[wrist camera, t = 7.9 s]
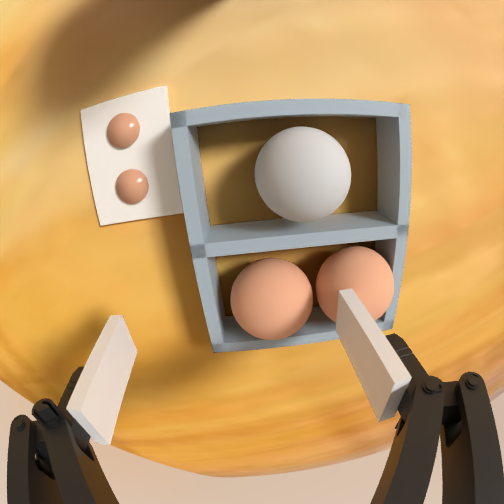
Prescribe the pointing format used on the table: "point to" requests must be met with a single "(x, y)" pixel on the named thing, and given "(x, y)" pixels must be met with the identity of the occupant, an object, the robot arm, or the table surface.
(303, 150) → the ball grey
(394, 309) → the rack
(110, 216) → the tile
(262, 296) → the terracotta ball
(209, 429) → the table surface
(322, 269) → the terracotta ball
